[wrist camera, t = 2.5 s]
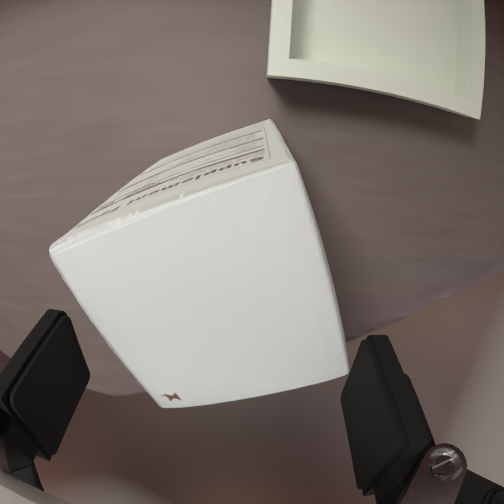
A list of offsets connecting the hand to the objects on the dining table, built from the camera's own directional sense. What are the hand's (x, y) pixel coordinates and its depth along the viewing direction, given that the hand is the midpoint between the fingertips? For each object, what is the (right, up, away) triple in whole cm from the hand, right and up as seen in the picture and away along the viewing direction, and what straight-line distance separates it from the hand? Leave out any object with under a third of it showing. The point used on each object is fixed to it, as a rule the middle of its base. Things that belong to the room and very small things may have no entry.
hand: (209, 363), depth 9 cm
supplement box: (0, +7, +10) cm, 13 cm away
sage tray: (+9, +19, +4) cm, 21 cm away
